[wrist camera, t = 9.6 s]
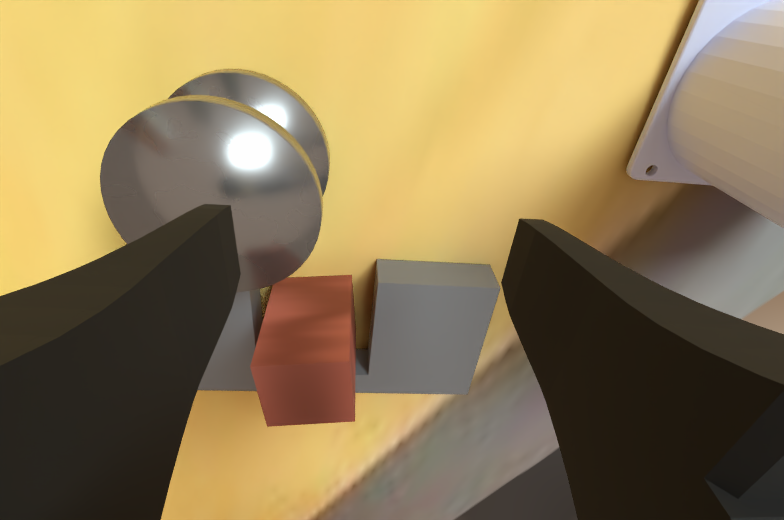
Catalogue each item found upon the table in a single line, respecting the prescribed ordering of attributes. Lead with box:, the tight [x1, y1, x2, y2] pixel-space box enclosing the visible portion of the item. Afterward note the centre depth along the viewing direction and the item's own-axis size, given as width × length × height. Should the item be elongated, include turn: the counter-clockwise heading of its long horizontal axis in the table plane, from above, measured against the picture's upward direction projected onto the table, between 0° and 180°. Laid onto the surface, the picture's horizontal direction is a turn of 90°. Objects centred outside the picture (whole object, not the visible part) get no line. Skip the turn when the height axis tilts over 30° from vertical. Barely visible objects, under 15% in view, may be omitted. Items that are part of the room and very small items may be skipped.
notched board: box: [198, 259, 500, 394], centre depth 23 cm, size 18×8×2 cm, turn 84°
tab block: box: [250, 275, 356, 426], centre depth 21 cm, size 4×4×6 cm
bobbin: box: [100, 69, 330, 292], centre depth 16 cm, size 7×7×5 cm
